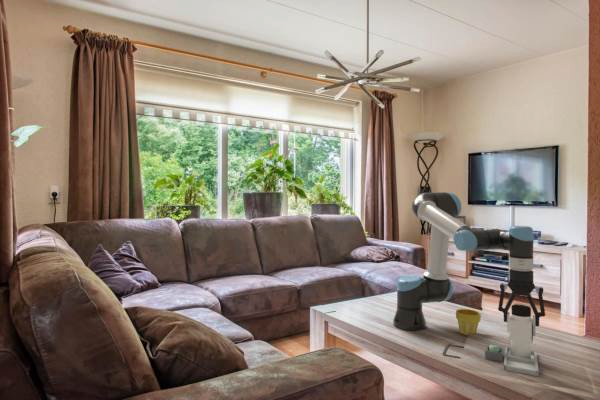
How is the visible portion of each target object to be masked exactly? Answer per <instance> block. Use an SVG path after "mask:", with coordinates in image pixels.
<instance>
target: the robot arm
mask: <svg viewBox="0 0 600 400" xmlns="http://www.w3.org/2000/svg"><path fill="white" fill-rule="evenodd" d="M411 210H412V212H413V214H414V215H415V216H416V217H417V218H418V219H419V220H421V221H423V222H428V223H429V224H430V225H431V227H430V238H429V248H428V259H427V260H428V261H427V268H426V270H425V271H424V272H423V278H422V276H420V275H411V274H410V275H405V276H402V277H399V279H397V283H396V303H397V304H396V310H395V314H394V318H393V319H392V320H393V323H392V325H393V326H395V327H396V328H397V329H401V330H406V331H421V330H424V329H426V328H427V321H426V318H425V315H424V312H423V304H425V303H427V304H428V303H429V304H431V303H441V302H447V301H448V300H450V298H451V297H452V295H453V291H454V286H453V283H452V280H451V279H450V278H449V275H448V274H447V263H448V256H449V255H448V254H449V247H450V246H449V245H450V238H451V239H452V240H453V245H455V248H456V249H457V250H459V251H462V252H463V251H464V252H465V251H466V252H471V251H489V250H490V251H491V250H493V251H494V250H504V251H508V252H509V255H508V256H509V258H508V259H509V260H508V261H509V265H508V267H509V268H510V269H509V271H508V273H509V274H508V275H509V279H508V282H507V283H503V282H500V284H499V288H500V294H499V295H500V296H499V301H498V308H497V310H498V312H502V313H503V322H504V323H506V329H507V330H506V332H507V333H509V320H510V316H511V315H510V314H511V313H510V312H509V310H510V308H511V307H512V305H513V302H514V299H515V297H516V296H522V297H526V299H527V300H528V302H529V305H530V308H531V311H533V314H534V315H532V318H533V337H536V327H537V328H538V327H540V318H541V317H545V316H546V311H545V304H544V298H543V295H544V288H543V287H542V286H537V285H535V283H534V271H533V269H534V241H535V237H534V229H533V228H532V227H531V226H529V225H528V226H526V225H511V226H509V230H507V229H500V228H490V229H489V228H488V229H473V228H472V227H470V226H468V225H467V224H465V223H464V222H462V221H461V220H459V219H457V218H458V217H459V216H460V215H461V212H462V203H461V199H459V197H458V195H456V194H455V193H453V192H446V191H445V192H440V191H439V192H422V193H420V194H417V196H415V197H414V199H413V201H412V203H411ZM508 288H509V289H510V290H511V294H510V296H509V298H508V299H507V302H506V304H505V307H504V306H503V304H504V297H505V291H506V290H507V289H508ZM534 290H535V292H536V293H537V296H538V297H537V298H538V303H539V309H540V312H538V308H537V307H536V304H535V302H534V299H533V297H532V294H531V293H532V292H533V291H534Z"/></svg>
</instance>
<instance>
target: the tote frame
mask: <svg viewBox="0 0 600 400" xmlns="http://www.w3.org/2000/svg"><path fill="white" fill-rule="evenodd" d="M449 346H450V347H451V346H452V347H457V348H461V349H462V348H463V349H464V348H465V346H463V345H458V344H457V345H456V344H451V343H447V344H446V345H445V348H444V349H443V352H442V356H446V357H450V358H456V359H461V356H457V355H452V354H451V355H450V354H447V353H446V352H447V350H448V348H449Z"/></svg>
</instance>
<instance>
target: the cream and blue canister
mask: <svg viewBox="0 0 600 400" xmlns="http://www.w3.org/2000/svg"><path fill="white" fill-rule="evenodd" d="M509 341H510V342H509V343H510V344H509V345H510V346H509V347H510V356H514V357H520V358H526V359H531V350H532V343H526V342H520V341H514V340H510V339H509Z"/></svg>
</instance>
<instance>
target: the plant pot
mask: <svg viewBox="0 0 600 400" xmlns="http://www.w3.org/2000/svg"><path fill="white" fill-rule="evenodd" d="M481 315H482V313H481V312H480V311H477V310H475V309H469V308H458V309H456V310H455V318H456V320H457V323H458V328H459V333H460V334H462V335H464V336H469V335H470V334H477V331H478V326H479V323H480V322H481Z"/></svg>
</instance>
